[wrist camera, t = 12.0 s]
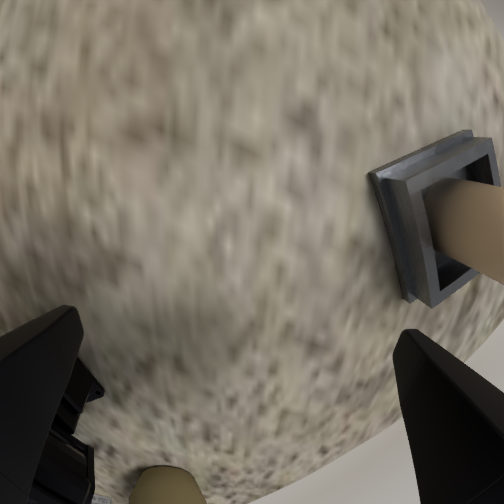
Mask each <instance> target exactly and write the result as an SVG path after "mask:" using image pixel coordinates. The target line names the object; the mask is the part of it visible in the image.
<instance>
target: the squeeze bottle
mask: <svg viewBox="0 0 504 504" xmlns="http://www.w3.org/2000/svg"><path fill="white" fill-rule="evenodd" d="M129 504H207V503H206V500H205V498H204V496H203V494H202V492H201V490H200V489H199V487H198V485H197V483H196V481H195V479H194V477H193V476H192V475H191V474H190V473H188V472H186V471H184V470H182V469H178V468H174V467H164V466H158V467H152V468H148V469H147V470H145V471H143V473H142V475H141V477H140V478H139V480H138V482H137V484H136V486H135V488H134V489H133V491H132V493H131V495H130V497H129Z"/></svg>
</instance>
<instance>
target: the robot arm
mask: <svg viewBox="0 0 504 504" xmlns="http://www.w3.org/2000/svg"><path fill="white" fill-rule="evenodd" d="M83 335H84V331H83V327H82V323H81V320H80V317H79V313H78V310H77V309H76V307H74V306H68V305H62V306H60V307H58V308H56V309H54V310H52V311H50V312H48V313H46V314H44V315H42V316H40V317H38V318H36V319H34V320H32V321H30V322H28V323H26V324H24V325H22V326H20V327H18V328H17V329H15V330H13V331H11V332H9V333H7V334H5V335H3V336H1V337H0V504H91V502H92V499H93V496H94V491H95V475H94V448H92V447H91V446H89V445H86V444H84V443H82V442H81V441H79V440H78V439H76V438H75V437H73V436H72V435H71V434H74V432H75V429H76V426H77V423H78V420H79V417H80V414H81V413H82V412H83V410H84V407H85V404H86V403H87V402H90V401H92V400H95V399H98V398H101V397H103V396H104V393H105V390H104V388H103V387H102V386H101V385H100V384H99V383H98V382H97V380H96V379H95V378H94V377H93V376H92V374H91V373H90V372H89V371H88V370H87V368H86V367H85V366H84V365H83V364H82V362H81V361H80V360H79V359H78V357H77V354H78V351H79V348H80V345H81V342H82V339H83ZM393 364H394V370H395V376H396V382H397V388H398V395H399V401H400V407H401V411H402V415H403V419H404V422H405V427H406V432H407V436H408V440H409V445H410V449H411V454H412V459H413V464H414V468H415V473H416V479H417V485H418V490H419V496H420V502H421V504H504V393H503V392H502V391H500V390H499V389H498V388H497V387H495V386H494V385H492V384H491V383H490V382H489V381H487V380H486V379H485V378H483V377H482V376H481V375H479V374H478V373H477V372H475V371H474V370H473V369H471V368H470V367H468V366H467V365H466V364H464V363H463V362H462V361H460V360H459V359H458V358H456V357H455V356H454V355H452V354H451V353H449V352H448V351H447V350H445V349H444V348H443V347H441V346H440V345H438V344H437V343H436V342H434V341H433V340H431V339H430V338H429V337H427V336H426V335H424V334H423V333H422V332H420V331H419V330H417V329H405V330H403V331H402V332H401V334H400V337H399V339H398V342H397V344H396V347H395V349H394V352H393ZM98 391H99V392H98Z"/></svg>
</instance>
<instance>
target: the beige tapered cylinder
mask: <svg viewBox="0 0 504 504" xmlns="http://www.w3.org/2000/svg"><path fill="white" fill-rule="evenodd" d="M423 201H424V206H425V210H426V214H427V219H428V223H429V228H430V233H431V238H432V243H433V249H434V250H436V251H438V252H440V253H442V254H444V255H446V256H448V257H450V258H452V259H455V260H457V261H459V262H461V263H463V264H465V265H467V266H468V267H470V268H472V269H474V270H476V271H478V272H480V273H482V274H484V275H486V276H488V277H490V278H492V279H493V280H495V281H497V282H499V283H501V284H503V285H504V188H503V187H498V186H494V185H489V184H484V183H479V182H474V181H469V180H463V179H458V178H452V177H444V178H443V179H441V180H439V181H437V182H435V183H434V184H433V185H432V186H431V187H430V188H429V190H428V191H427V193H426V195H425V197H424V200H423Z"/></svg>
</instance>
